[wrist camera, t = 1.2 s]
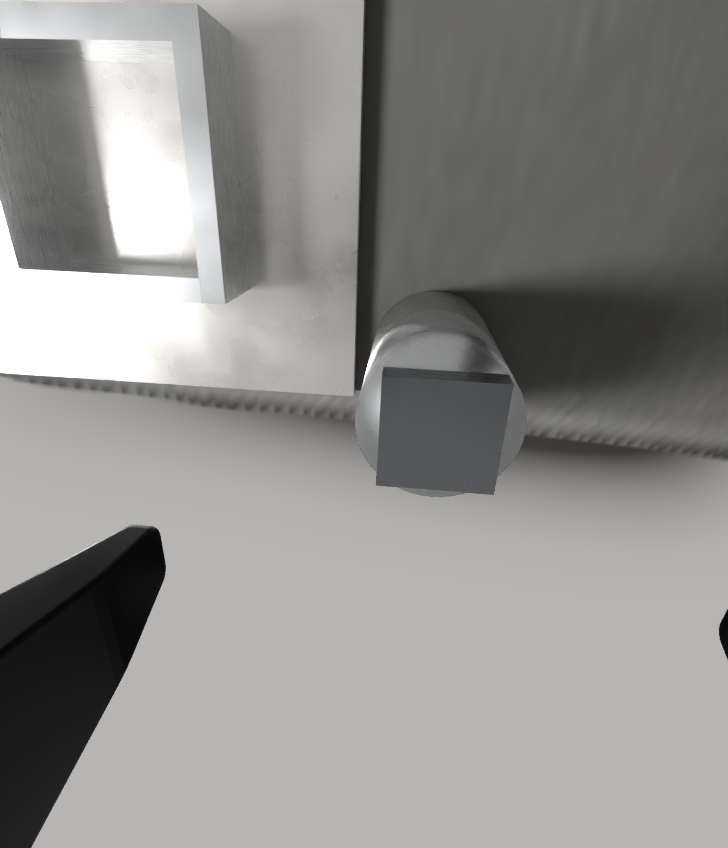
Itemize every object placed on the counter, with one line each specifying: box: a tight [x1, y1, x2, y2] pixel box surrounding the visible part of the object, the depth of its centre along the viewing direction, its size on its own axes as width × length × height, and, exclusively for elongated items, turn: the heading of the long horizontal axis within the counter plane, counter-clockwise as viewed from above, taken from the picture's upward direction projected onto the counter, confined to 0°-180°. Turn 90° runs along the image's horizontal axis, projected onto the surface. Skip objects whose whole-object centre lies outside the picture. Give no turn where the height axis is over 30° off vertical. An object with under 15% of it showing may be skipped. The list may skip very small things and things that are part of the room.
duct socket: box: [0, 0, 366, 396], centre depth 16 cm, size 16×16×3 cm
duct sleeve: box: [355, 291, 527, 497], centre depth 16 cm, size 5×5×8 cm
